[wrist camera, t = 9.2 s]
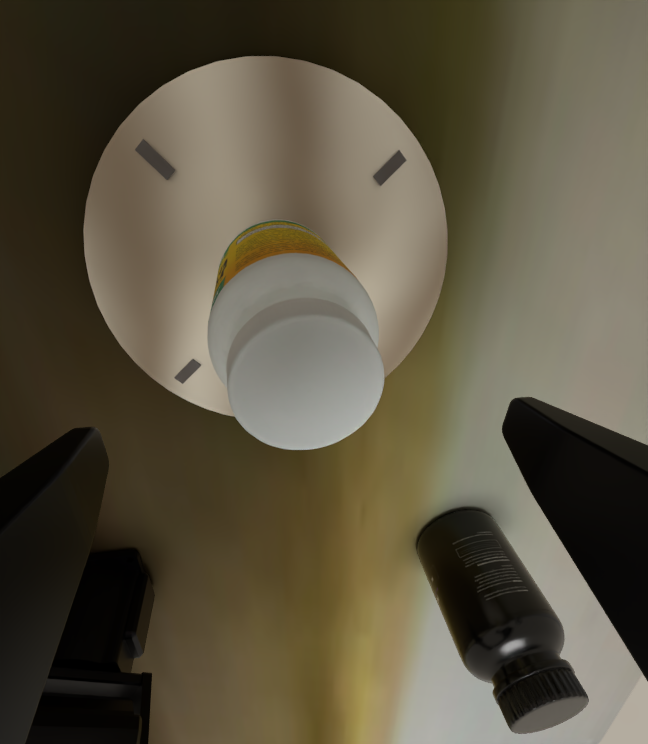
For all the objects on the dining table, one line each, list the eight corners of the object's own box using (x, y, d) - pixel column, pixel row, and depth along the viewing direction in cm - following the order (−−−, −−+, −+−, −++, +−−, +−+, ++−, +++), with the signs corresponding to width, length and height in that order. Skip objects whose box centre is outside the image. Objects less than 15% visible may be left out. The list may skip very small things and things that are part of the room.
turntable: (132, 421, 22) (128, 431, 21) (36, 40, 13) (24, 35, 13) (413, 402, 24) (419, 410, 23) (473, 75, 16) (485, 72, 15)
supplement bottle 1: (339, 324, 20) (409, 453, 12) (231, 340, 19) (224, 489, 11) (331, 208, 17) (415, 272, 9) (204, 224, 16) (168, 307, 8)
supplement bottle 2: (398, 555, 33) (468, 745, 23) (446, 498, 30) (550, 684, 20) (461, 567, 35) (550, 742, 25) (510, 515, 33) (632, 688, 22)
